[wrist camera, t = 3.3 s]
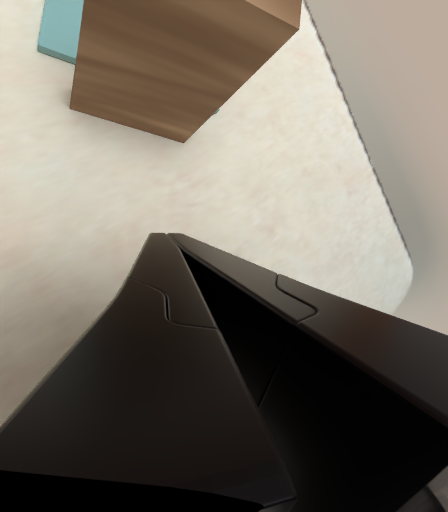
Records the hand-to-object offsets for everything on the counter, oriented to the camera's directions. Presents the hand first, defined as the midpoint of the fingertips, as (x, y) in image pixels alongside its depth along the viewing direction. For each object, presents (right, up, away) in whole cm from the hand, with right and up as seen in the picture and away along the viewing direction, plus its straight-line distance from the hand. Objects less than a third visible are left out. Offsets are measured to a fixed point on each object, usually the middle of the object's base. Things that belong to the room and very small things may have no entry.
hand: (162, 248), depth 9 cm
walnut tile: (-4, +8, +13) cm, 16 cm away
